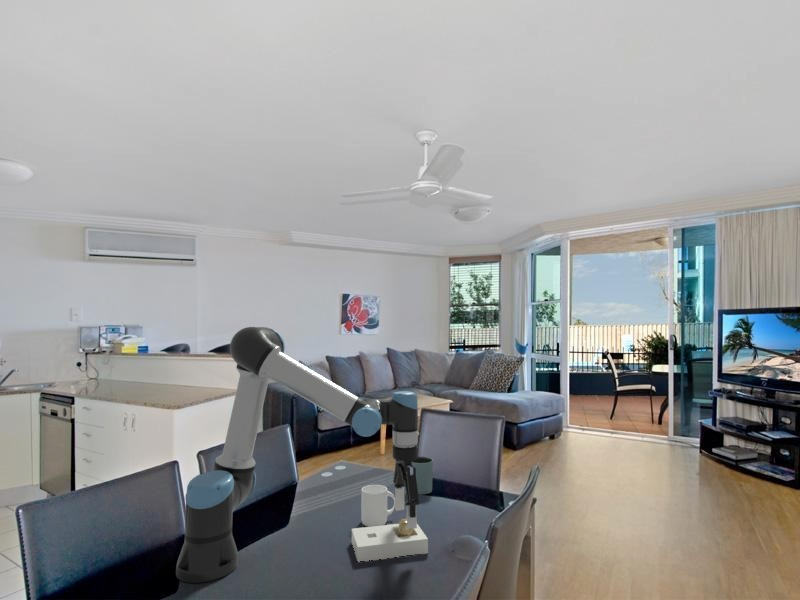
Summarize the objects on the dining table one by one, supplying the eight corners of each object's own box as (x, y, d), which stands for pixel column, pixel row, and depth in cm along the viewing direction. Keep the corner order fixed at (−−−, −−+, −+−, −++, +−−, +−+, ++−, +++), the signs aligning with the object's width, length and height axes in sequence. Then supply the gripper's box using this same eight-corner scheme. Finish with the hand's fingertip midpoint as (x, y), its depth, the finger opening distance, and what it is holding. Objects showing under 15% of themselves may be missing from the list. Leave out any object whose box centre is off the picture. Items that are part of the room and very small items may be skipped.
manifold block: (357, 562, 121) (357, 547, 121) (351, 542, 132) (351, 528, 132) (428, 553, 125) (427, 538, 126) (416, 535, 137) (416, 521, 137)
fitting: (400, 550, 127) (400, 525, 128) (397, 543, 131) (397, 519, 132) (414, 548, 128) (414, 523, 129) (410, 542, 132) (410, 517, 133)
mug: (400, 523, 146) (400, 489, 147) (366, 529, 141) (366, 494, 142) (390, 513, 154) (390, 481, 155) (357, 519, 149) (357, 486, 150)
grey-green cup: (434, 495, 172) (433, 463, 173) (408, 494, 172) (407, 463, 173) (432, 486, 182) (432, 456, 183) (407, 486, 182) (407, 456, 183)
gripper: (430, 454, 121) (430, 535, 119) (406, 435, 145) (406, 502, 144) (403, 456, 119) (403, 538, 118) (384, 436, 144) (383, 504, 142)
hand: (405, 518), depth 131 cm, fingers open, 13 cm apart
